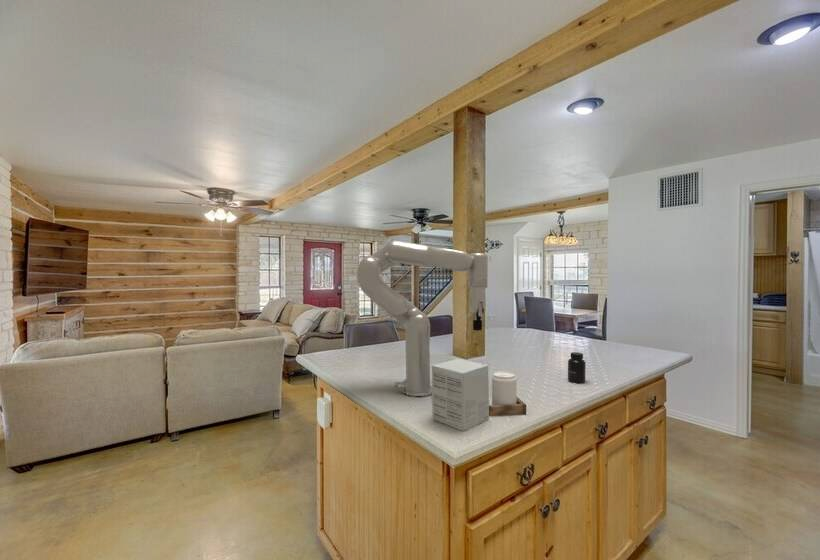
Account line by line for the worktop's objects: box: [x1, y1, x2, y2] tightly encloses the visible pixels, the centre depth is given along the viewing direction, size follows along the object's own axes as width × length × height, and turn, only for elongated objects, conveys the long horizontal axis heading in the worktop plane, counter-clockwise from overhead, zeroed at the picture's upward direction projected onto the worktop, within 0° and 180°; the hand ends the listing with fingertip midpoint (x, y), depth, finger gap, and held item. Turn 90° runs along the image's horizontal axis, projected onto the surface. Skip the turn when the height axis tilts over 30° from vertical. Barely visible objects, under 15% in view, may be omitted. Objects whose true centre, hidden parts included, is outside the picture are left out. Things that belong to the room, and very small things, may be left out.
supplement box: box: [431, 358, 490, 432], centre depth 116 cm, size 13×13×18 cm
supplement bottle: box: [567, 351, 587, 385], centre depth 154 cm, size 7×7×12 cm
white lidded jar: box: [491, 370, 518, 405], centre depth 124 cm, size 8×8×12 cm
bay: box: [489, 396, 527, 417], centre depth 125 cm, size 13×12×3 cm
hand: (477, 330), depth 145 cm, fingers closed
